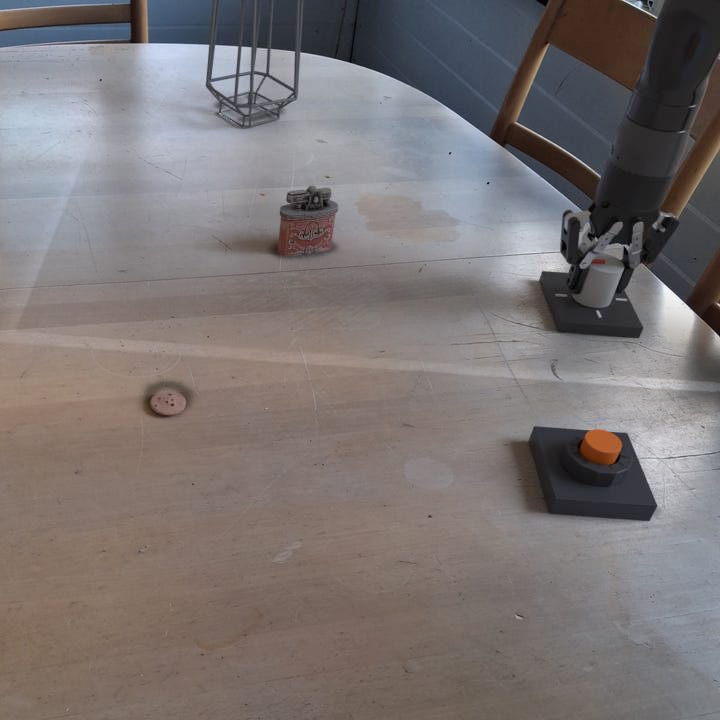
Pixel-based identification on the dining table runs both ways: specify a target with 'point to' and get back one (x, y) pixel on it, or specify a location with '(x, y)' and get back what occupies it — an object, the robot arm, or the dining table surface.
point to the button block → (589, 478)
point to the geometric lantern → (253, 65)
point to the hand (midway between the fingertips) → (594, 290)
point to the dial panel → (588, 311)
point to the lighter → (307, 222)
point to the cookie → (168, 403)
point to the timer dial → (600, 281)
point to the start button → (600, 447)
